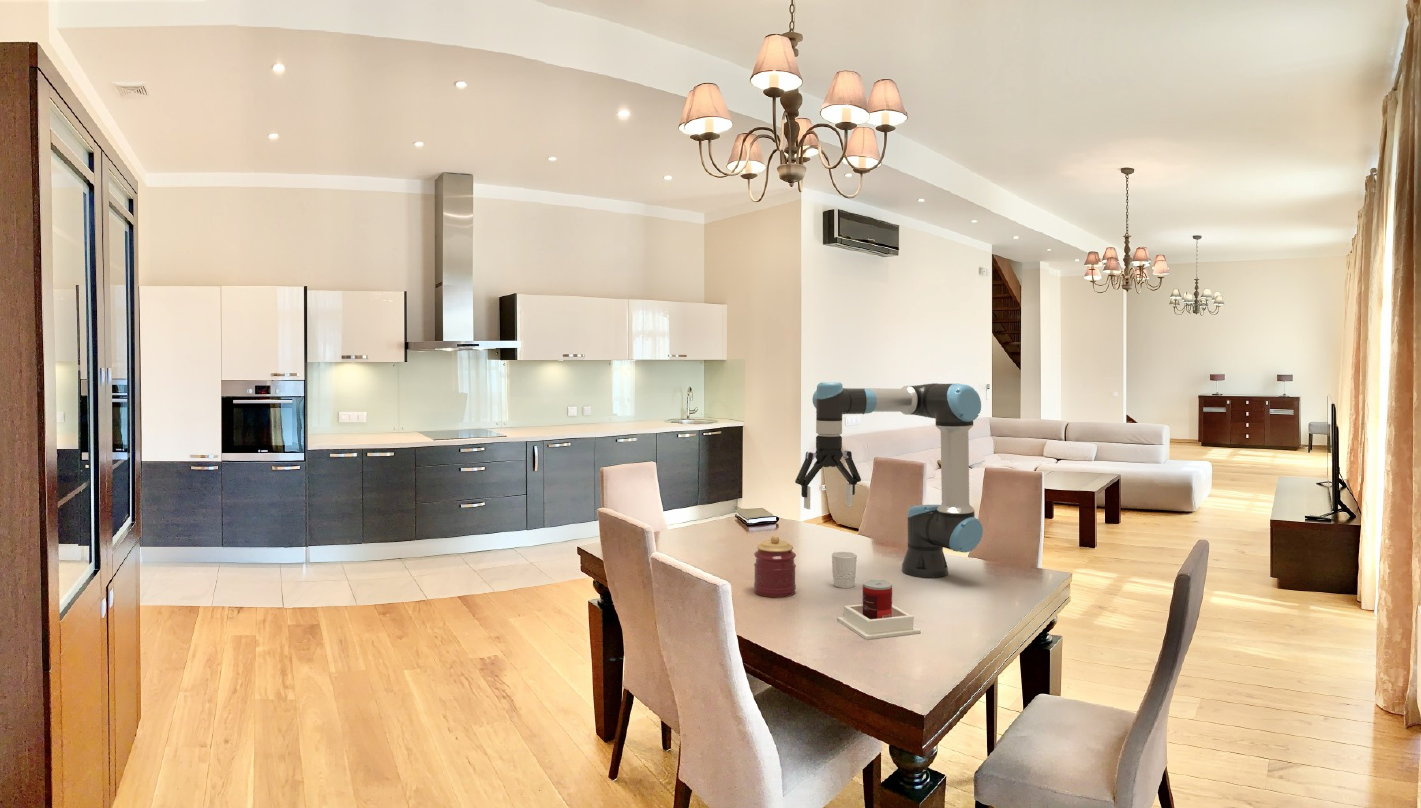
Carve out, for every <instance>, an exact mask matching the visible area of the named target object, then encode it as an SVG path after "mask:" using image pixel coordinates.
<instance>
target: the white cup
mask: <svg viewBox="0 0 1421 808" xmlns="http://www.w3.org/2000/svg"><path fill="white" fill-rule="evenodd" d="M857 557H858V555H857V554H856V553H854V552H850V551H834V552H832V553H831V566H832V567H831V569H832V578H833V579H832V583H833V584H832V585H833V586H834V587H835V588H840V589H851V588H854V587H855V585H856V583H855V582H856V574H857V559H858V558H857Z"/></svg>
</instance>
